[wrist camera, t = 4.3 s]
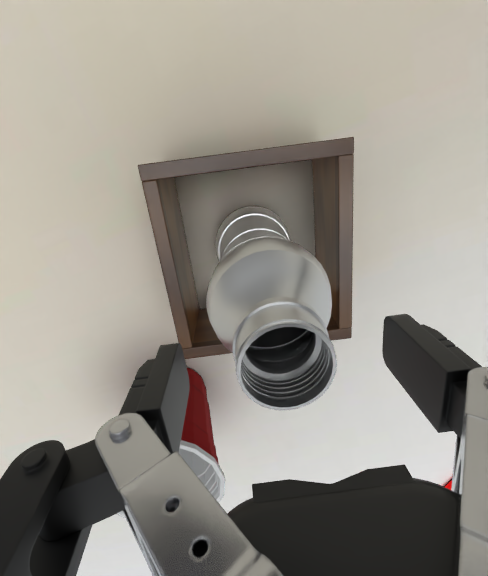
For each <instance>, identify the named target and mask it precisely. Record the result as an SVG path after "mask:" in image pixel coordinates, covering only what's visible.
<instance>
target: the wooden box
mask: <svg viewBox="0 0 488 576" xmlns="http://www.w3.org/2000/svg"><path fill="white" fill-rule="evenodd" d="M353 153H354V137H349V138H342V139H334V140H326V141H319V142H311V143H303V144H296V145H288V146H280V147H272V148H265V149H257V150H249V151H242V152H234V153H226V154H219V155H211V156H203V157H195V158H188V159H180V160H172V161H165V162H157V163H149V164H142V165H138V169H139V173H140V177H141V181H143V182H142V185H143V190H144V194H145V198H146V203H147V207H148V211H149V216H150V220H151V224H152V229H153V233H154V237H155V242H156V246H157V250H158V255H159V259H160V263H161V268H162V272H163V276H164V280H165V285H166V289H167V293H168V298H169V302H170V306H171V311H172V315H173V319H174V324H175V328H176V332H177V337H178V341H179V343H180V344H181V346H182V350H183V354H184V358H185V359H189V358H196V357H204V356H212V355H220V354H228V353H232V352H230V351H229V350H228V349H227V348H226V347H225V346H224V345H223V344H222V342H221V341H220V340H219V338H218V337H217V335H216V333H215V331H214V329H213V327H212V325H211V323H210V321H209V317H208V313H207V308H204V309H199V304H198V298H197V293H196V288H195V283H194V278H193V272H192V267H191V262H190V257H189V252H188V247H187V241H186V236H185V231H184V226H183V221H182V215H181V210H180V205H179V200H178V195H177V190H176V184H175V179H174V177H180V176H188V175H196V174H203V173H211V172H219V171H226V170H234V169H242V168H249V167H257V166H265V165H273V164H280V163H288V162H296V161H303V160H311V159H312V166H313V195H314V224H315V252H316V259H317V260H318V261H319V262H320V263H321V265H322V267H323V268H324V270H325V272H326V274H327V276H328V279H329V283H330V286H331V298H332V309H331V317H330V320H329V323H328V326H327V331H328V335H329V338H330V340H338V339H346V338H351V327H352V247H353V158H354V155H353Z"/></svg>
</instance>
